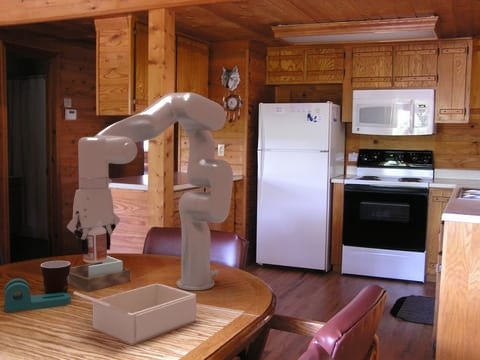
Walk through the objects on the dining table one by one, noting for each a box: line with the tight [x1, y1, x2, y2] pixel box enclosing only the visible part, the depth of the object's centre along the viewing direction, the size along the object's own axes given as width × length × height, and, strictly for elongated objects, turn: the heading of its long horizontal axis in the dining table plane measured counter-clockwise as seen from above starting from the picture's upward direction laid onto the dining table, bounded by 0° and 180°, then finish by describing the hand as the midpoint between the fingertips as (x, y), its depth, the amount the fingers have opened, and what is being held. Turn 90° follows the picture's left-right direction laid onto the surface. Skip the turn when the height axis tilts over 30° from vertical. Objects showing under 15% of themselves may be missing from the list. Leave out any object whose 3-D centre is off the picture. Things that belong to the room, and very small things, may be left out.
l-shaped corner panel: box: [87, 255, 124, 278], centre depth 178 cm, size 12×12×8 cm
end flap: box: [73, 291, 128, 314], centre depth 128 cm, size 1×14×6 cm
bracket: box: [3, 278, 72, 314], centre depth 154 cm, size 18×7×8 cm, turn 115°
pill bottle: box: [82, 221, 108, 264], centre depth 140 cm, size 6×6×11 cm
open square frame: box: [68, 261, 131, 293], centre depth 179 cm, size 17×17×4 cm
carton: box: [92, 283, 197, 346], centre depth 139 cm, size 22×17×8 cm
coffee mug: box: [40, 260, 71, 294], centre depth 164 cm, size 12×9×10 cm
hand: (94, 250), depth 140 cm, fingers closed on pill bottle, 6 cm apart
